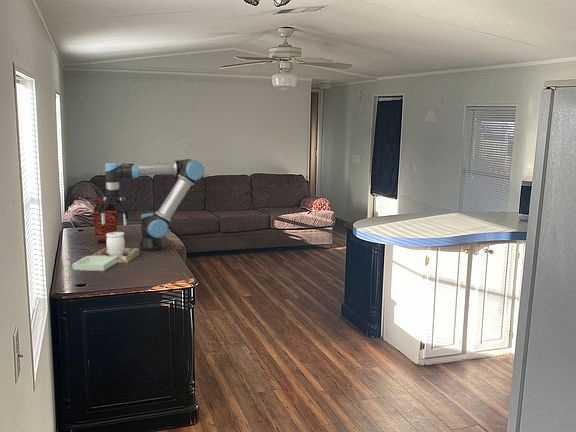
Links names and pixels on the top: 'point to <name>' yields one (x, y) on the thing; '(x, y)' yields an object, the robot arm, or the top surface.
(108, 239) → the jar
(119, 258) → the bin
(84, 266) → the bin
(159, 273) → the top surface
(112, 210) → the vase
